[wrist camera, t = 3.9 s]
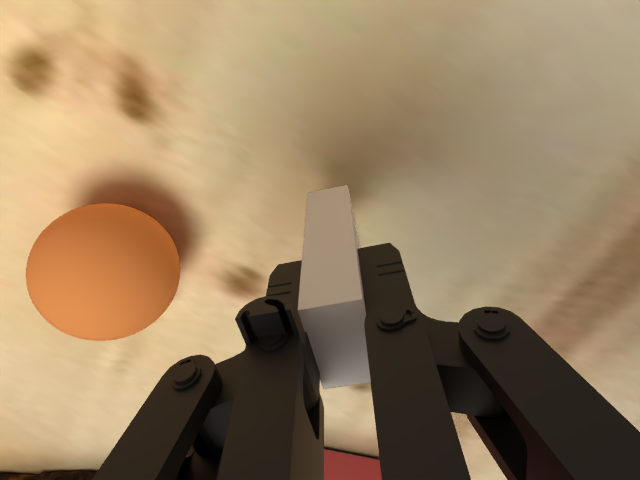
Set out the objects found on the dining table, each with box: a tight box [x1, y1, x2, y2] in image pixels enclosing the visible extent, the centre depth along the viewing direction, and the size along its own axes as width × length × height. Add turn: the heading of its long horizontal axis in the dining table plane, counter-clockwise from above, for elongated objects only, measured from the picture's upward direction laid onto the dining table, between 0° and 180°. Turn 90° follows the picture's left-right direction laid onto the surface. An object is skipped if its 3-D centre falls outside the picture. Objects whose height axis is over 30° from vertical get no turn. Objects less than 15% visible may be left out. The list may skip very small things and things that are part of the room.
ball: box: [26, 203, 180, 341], centre depth 17 cm, size 6×6×6 cm
